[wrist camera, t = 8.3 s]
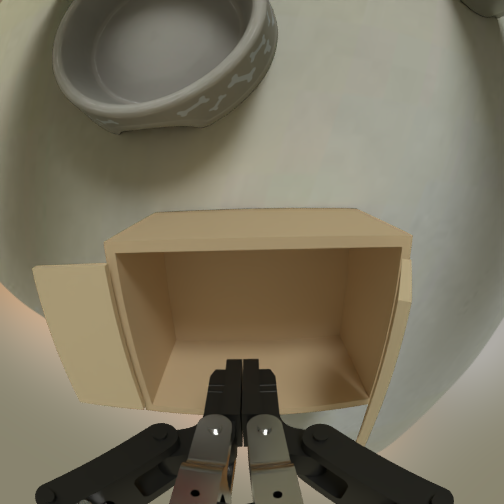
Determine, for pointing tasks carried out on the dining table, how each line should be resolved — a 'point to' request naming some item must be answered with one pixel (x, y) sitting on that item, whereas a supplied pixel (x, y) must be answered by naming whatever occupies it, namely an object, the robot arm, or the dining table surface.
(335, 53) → the dining table surface
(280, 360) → the carton
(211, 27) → the dog bowl
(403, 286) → the flap
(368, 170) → the dining table surface
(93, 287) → the flap
